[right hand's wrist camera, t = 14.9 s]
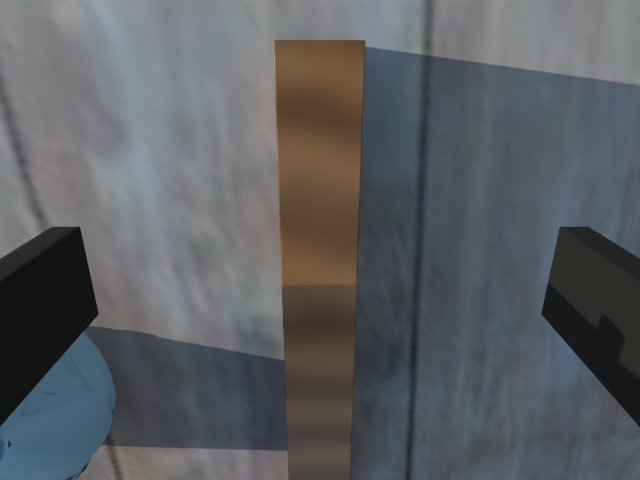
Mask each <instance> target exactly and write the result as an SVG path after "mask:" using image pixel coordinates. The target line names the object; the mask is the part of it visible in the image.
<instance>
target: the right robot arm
mask: <svg viewBox="0 0 640 480" xmlns="http://www.w3.org/2000/svg"><path fill="white" fill-rule="evenodd" d="M97 315H98V309H97V304H96V300H95V295H94V290H93V286H92V281H91V276H90V272H89V267H88V262H87V258H86V253H85V248H84V244H83V239H82V234H81V230H80V227H51V228H49V229H48V230H46V231H44V232H43V233H41V234H40V235H38V236H36V237H35V238H33V239H32V240H30V241H28V242H27V243H25V244H23V245H22V246H20V247H19V248H17V249H15V250H14V251H12V252H11V253H9V254H7V255H6V256H4V257H3V258H1V259H0V427H1V425H2V424H3V423H4V422H5V421H6V420H7V419H8V417H9V416H10V415H11V414H12V413H13V412H14V411H15V409H16V408H17V407H18V406H19V405H20V404H21V403H22V401H23V400H24V399H25V398H26V397H27V396H28V394H29V393H30V392H31V391H32V390H33V389H34V388H35V386H36V385H37V384H38V383H39V382H40V381H41V380H42V378H43V377H44V376H45V375H46V374H47V373H48V372H49V370H50V369H51V368H52V367H53V366H54V365H55V364H56V362H57V361H58V360H59V359H60V358H61V357H62V356H63V354H64V353H65V352H66V351H67V350H68V349H69V348H70V346H71V345H72V344H73V343H74V342H75V341H76V339H77V338H78V337H79V336H80V335H81V334H82V333H83V331H84V330H85V329H86V328H87V327H88V326H89V325H90V323H91V322H92V321H93V320H94V319H95V318H96V317H97ZM542 315H543V317H544V318H545V319H546V320H547V321H548V322H549V323H550V325H551V326H552V327H553V328H554V329H555V330H556V331H557V333H558V334H559V335H560V336H561V337H562V338H563V340H564V341H565V342H566V343H567V344H568V345H569V346H570V348H571V349H572V350H573V351H574V352H575V353H576V354H577V356H578V357H579V358H580V359H581V360H582V361H583V362H584V364H585V365H586V366H587V367H588V368H589V369H590V370H591V372H592V373H593V374H594V375H595V376H596V377H597V378H598V380H599V381H600V382H601V383H602V384H603V385H604V386H605V388H606V389H607V390H608V391H609V392H610V393H611V394H612V396H613V397H614V398H615V399H616V400H617V401H618V403H619V404H620V405H621V406H622V407H623V408H624V409H625V411H626V412H627V413H628V414H629V415H630V416H631V417H632V419H633V420H634V421H635V422H636V423H637V424H638V425H639V427H640V259H639V258H637V257H636V256H634V255H633V254H631V253H629V252H628V251H626V250H625V249H623V248H621V247H620V246H618V245H617V244H615V243H613V242H612V241H610V240H608V239H607V238H605V237H604V236H602V235H600V234H599V233H597V232H596V231H594V230H592V229H591V228H589V227H560V230H559V234H558V239H557V244H556V248H555V253H554V258H553V262H552V267H551V272H550V276H549V281H548V286H547V290H546V295H545V300H544V304H543V309H542Z"/></svg>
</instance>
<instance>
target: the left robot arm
mask: <svg viewBox="0 0 640 480" xmlns="http://www.w3.org/2000/svg"><path fill="white" fill-rule="evenodd" d="M115 404H116V393H115V386H114V382H113V378H112V375H111V372H110V369H109V367H108V365H107V363H106V361H105V359H104V357H103V356H102V354H101V352H100V351H99V349H98V348H97V347H96V345H95V344H94V343H93V342H92V341H91V339H90V338H89V337H88V336H87V335H86V334H85V333H84V332H83V333H82V334H81V335H80V336H79V337H78V338H77V339H76V341H75V342H74V343H73V344H72V345H71V346H70V348H69V349H68V350H67V351H66V352H65V353H64V354H63V356H62V357H61V358H60V359H59V360H58V361H57V362H56V364H55V365H54V366H53V367H52V368H51V369H50V370H49V372H48V373H47V374H46V375H45V376H44V377H43V378H42V380H41V381H40V382H39V383H38V384H37V385H36V386H35V388H34V389H33V390H32V391H31V392H30V393H29V394H28V396H27V397H26V398H25V399H24V400H23V401H22V403H21V404H20V405H19V406H18V407H17V408H16V409H15V411H14V412H13V413H12V414H11V415H10V416H9V417H8V419H7V420H6V421H5V422H4V423H3V424H2V425H1V427H0V480H75V479H77V478H78V477H79V476H80V475H79V474H81V473H82V472H83V471H84V470H85V469H86V467H87V466H88V463H89V461H90V459H91V457H92V456H93V454H94V453H95V452H96V451H97V450H98V449H99V447H100V446H101V445H102V443H103V442H104V440H105V438H106V437H107V435H108V433H109V431H110V428H111V426H112V423H113V420H112V419H113V416H114V407H115Z"/></svg>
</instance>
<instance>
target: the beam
mask: <svg viewBox="0 0 640 480" xmlns="http://www.w3.org/2000/svg"><path fill="white" fill-rule="evenodd" d="M273 47H274V75H275V103H276V132H277V160H278V188H279V217H280V245H281V273H282V302H283V330H284V358H285V387H286V415H287V444H288V472H289V480H350V464H351V436H352V407H353V379H354V350H355V322H356V293H357V265H358V236H359V208H360V180H361V151H362V123H363V94H364V66H365V40H274V41H273Z"/></svg>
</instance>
